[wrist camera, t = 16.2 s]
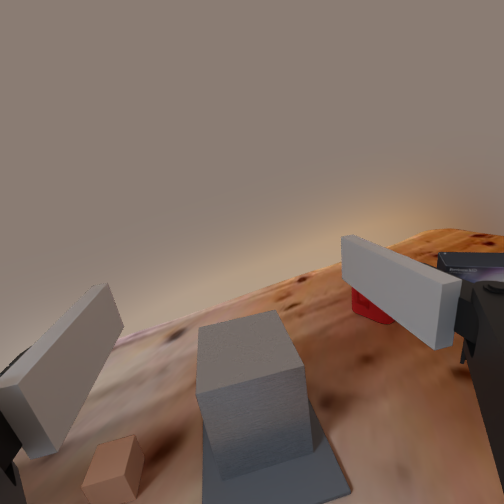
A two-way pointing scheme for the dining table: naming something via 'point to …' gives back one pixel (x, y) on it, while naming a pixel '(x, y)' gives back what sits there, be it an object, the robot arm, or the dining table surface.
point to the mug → (369, 308)
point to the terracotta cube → (114, 472)
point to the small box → (473, 265)
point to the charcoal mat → (279, 477)
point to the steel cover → (252, 394)
